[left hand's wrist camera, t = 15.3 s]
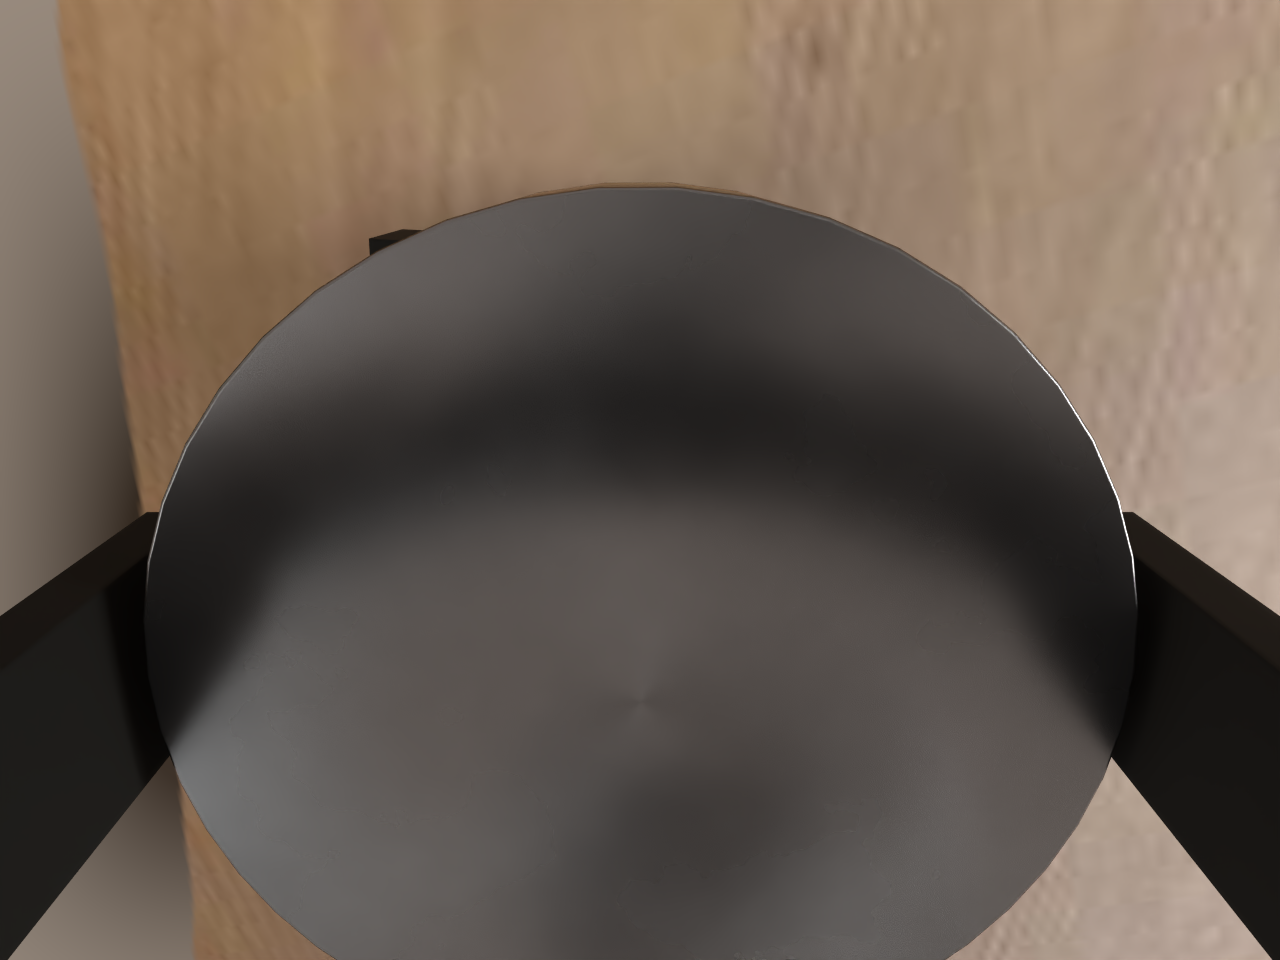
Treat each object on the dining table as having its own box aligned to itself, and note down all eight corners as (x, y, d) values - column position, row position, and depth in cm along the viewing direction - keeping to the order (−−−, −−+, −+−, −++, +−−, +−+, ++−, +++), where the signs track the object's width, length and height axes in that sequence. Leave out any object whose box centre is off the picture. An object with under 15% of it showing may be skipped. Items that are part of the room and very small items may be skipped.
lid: (1124, 832, 13) (1197, 932, 12) (425, 1014, 15) (396, 1129, 13) (969, 29, 9) (1041, -1, 8) (46, 370, 11) (-67, 408, 9)
